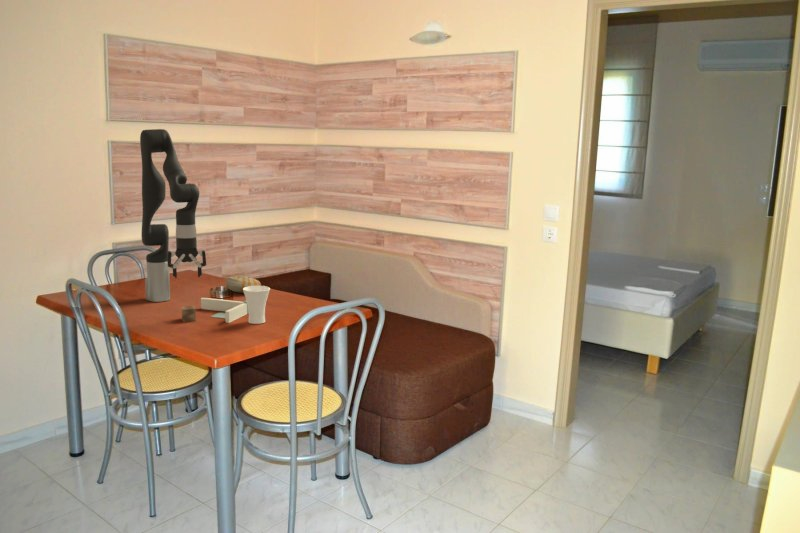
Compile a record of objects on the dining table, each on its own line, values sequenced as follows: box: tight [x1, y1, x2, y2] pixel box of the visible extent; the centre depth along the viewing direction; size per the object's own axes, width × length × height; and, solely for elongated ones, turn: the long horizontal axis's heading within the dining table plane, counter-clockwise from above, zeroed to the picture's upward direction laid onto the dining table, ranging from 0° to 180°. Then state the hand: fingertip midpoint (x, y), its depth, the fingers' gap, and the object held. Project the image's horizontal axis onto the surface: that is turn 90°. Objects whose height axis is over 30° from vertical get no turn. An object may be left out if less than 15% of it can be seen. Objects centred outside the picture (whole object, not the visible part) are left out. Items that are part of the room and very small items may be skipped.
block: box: [181, 305, 197, 323], centre depth 261 cm, size 5×5×5 cm
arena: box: [200, 297, 249, 324], centre depth 268 cm, size 22×16×5 cm
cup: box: [243, 285, 271, 325], centre depth 259 cm, size 10×10×14 cm
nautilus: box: [225, 274, 262, 294], centre depth 311 cm, size 8×22×15 cm
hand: (187, 277), depth 258 cm, fingers open, 8 cm apart
